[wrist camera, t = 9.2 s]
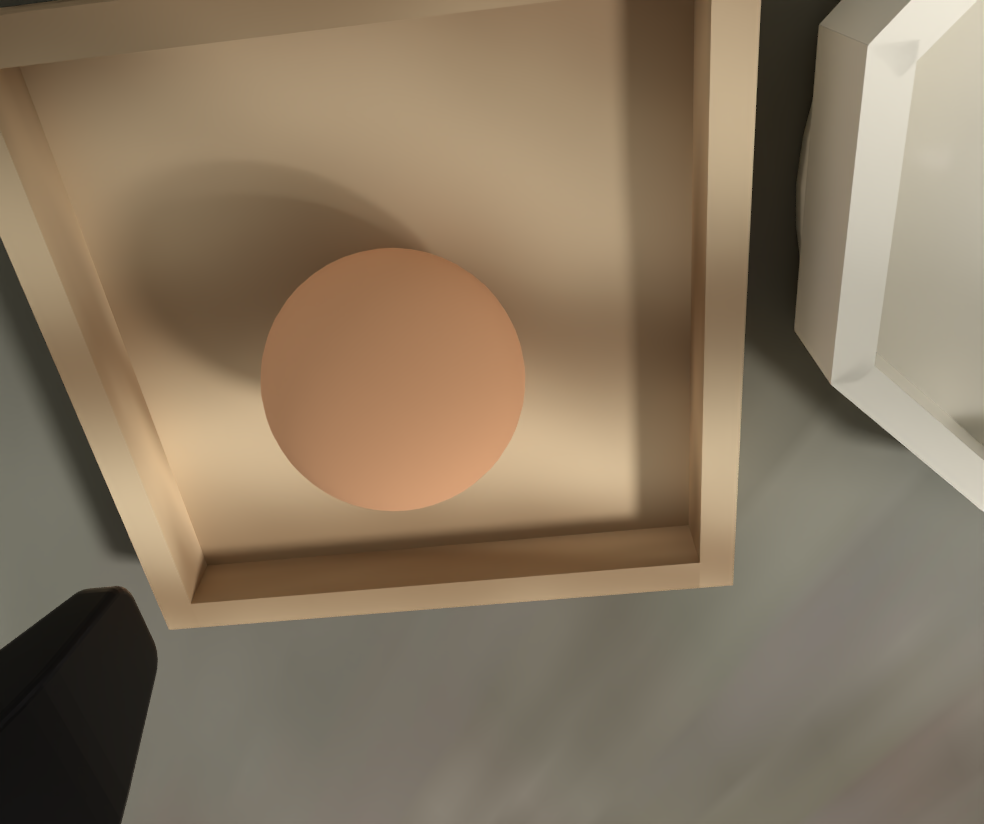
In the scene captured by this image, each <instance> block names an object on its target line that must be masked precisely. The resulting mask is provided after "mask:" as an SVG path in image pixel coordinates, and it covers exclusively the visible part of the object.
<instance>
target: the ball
mask: <svg viewBox="0 0 984 824" xmlns="http://www.w3.org/2000/svg"><path fill="white" fill-rule="evenodd" d="M524 393H525V365H524V359H523V354H522V349H521V345H520V342H519V339H518V336H517V333H516V330H515V328H514V326H513V324H512V322H511V320H510V318H509V316H508V314H507V313H506V311H505V309H504V308H503V307H502V305H501V304H500V302H499V301H498V299H497V298H496V297H495V296H494V294H493V293H492V292H491V291H490V290H489V289H488V288H487V287H486V286H485V285H484V284H483V283H482V282H481V281H479V280H478V279H477V278H476V277H475V276H474V275H472V274H471V273H469V272H468V271H466V270H464V269H463V268H461V267H460V266H458V265H457V264H455V263H453V262H451V261H448V260H446V259H444V258H442V257H439V256H436V255H433V254H430V253H427V252H423V251H418V250H413V249H404V248H380V249H373V250H368V251H362V252H358V253H355V254H352V255H348V256H345V257H342V258H340V259H338V260H336V261H334V262H332V263H330V264H328V265H326V266H325V267H323V268H322V269H320V270H319V271H317V272H315V273H314V274H313V275H311V276H310V277H309V278H308V279H307V280H306V281H304V282H303V283H302V284H301V285H300V286H299V287H298V288H297V289H296V290H295V291H294V292H293V293H292V295H291V296H290V297H289V298H288V299H287V301H286V302H285V304H284V305H283V307H282V308H281V310H280V312H279V313H278V315H277V316H276V318H275V320H274V322H273V324H272V327H271V329H270V331H269V334H268V337H267V340H266V344H265V348H264V352H263V356H262V364H261V396H262V401H263V406H264V410H265V414H266V418H267V421H268V424H269V427H270V429H271V432H272V434H273V436H274V438H275V440H276V441H277V443H278V445H279V447H280V448H281V450H282V452H283V453H284V455H285V456H286V457H287V459H288V460H289V461H290V463H291V464H292V465H293V466H294V467H295V468H296V469H297V470H298V471H299V472H300V474H302V475H303V476H304V477H305V478H306V479H308V480H309V481H310V482H311V483H312V484H314V485H315V486H316V487H318V488H319V489H321V490H322V491H324V492H325V493H327V494H329V495H331V496H333V497H335V498H337V499H339V500H341V501H344V502H346V503H349V504H351V505H355V506H359V507H362V508H366V509H373V510H379V511H408V510H414V509H420V508H424V507H428V506H432V505H435V504H437V503H440V502H442V501H445V500H448V499H450V498H452V497H454V496H456V495H458V494H460V493H462V492H463V491H465V490H466V489H468V488H469V487H470V486H472V485H473V484H475V483H476V482H477V481H478V480H479V479H480V478H481V477H482V476H484V475H485V474H486V473H487V472H488V471H489V470H490V469H491V468H492V467H493V465H494V464H495V463H496V462H497V461H498V460H499V458H500V457H501V455H502V453H503V452H504V450H505V449H506V447H507V445H508V444H509V442H510V441H511V439H512V436H513V434H514V432H515V430H516V427H517V424H518V421H519V418H520V414H521V411H522V407H523V402H524Z"/></svg>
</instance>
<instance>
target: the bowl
mask: <svg viewBox="0 0 984 824" xmlns="http://www.w3.org/2000/svg"><path fill="white" fill-rule="evenodd" d="M796 231H797V239H798V246H799V254H800V264H799V276H798V289H797V301H796V313H795V326H794V331H795V332H796V334H797V335H798V337H799V338H800V340H801V341H802V343H803V344H804V346H805V347H806V349H807V350H808V352H809V353H810V354H811V356H812V357H813V359H814V360H815V362H816V363H817V365H818V366H819V368H820V369H821V371H822V372H823V374H824V375H825V377H826V378H827V380H828V381H829V383H830V384H831V385H832V386H833V387H834V388H836V389H837V390H838V391H839V392H840V393H842V394H843V395H844V396H845V397H846V398H848V399H849V400H850V401H851V402H852V403H854V404H855V405H856V406H857V407H858V408H860V409H861V410H862V411H863V412H864V413H866V414H867V415H868V416H869V417H870V418H872V419H873V420H874V421H875V422H876V423H878V424H879V425H880V426H881V427H882V428H884V429H885V430H886V431H887V432H888V433H890V434H891V435H892V436H893V437H894V438H896V439H897V440H898V441H899V442H900V443H901V444H903V445H904V446H905V447H906V448H907V449H909V450H910V451H911V452H912V453H913V454H915V455H916V456H917V457H918V458H919V459H921V460H922V461H923V462H924V463H925V464H927V465H928V466H929V467H930V468H931V469H933V470H934V471H935V472H936V473H937V474H939V475H940V476H941V477H942V478H943V479H945V480H946V481H947V482H948V483H949V484H951V485H952V486H953V487H954V488H955V489H957V490H958V491H959V492H960V493H961V494H963V495H964V496H965V497H966V498H967V499H969V500H970V501H971V502H972V503H973V504H975V505H976V506H977V507H978V508H979V509H981V510H982V511H983V512H984V0H841V1H840V2H839V4H838V5H837V6H836V7H835V8H834V9H833V10H832V11H831V12H830V13H829V14H828V16H827V17H826V18H825V19H824V20H823V21H822V22H821V23H820V24H819V31H818V43H817V55H816V67H815V80H814V92H813V101H812V104H811V108H810V112H809V116H808V119H807V123H806V127H805V130H804V134H803V140H802V147H801V154H800V161H799V168H798V176H797V183H796Z"/></svg>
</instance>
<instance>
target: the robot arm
mask: <svg viewBox="0 0 984 824" xmlns="http://www.w3.org/2000/svg"><path fill="white" fill-rule="evenodd" d="M157 662H158V658H157V650H156V646H155V643H154V641H153V639H152V636H151V634H150V632H149V630H148V628H147V626H146V624H145V621H144V619H143V617H142V615H141V613H140V611H139V609H138V606H137V604H136V602H135V600H134V598H133V596H132V595H131V593H130V592H129V591H128V590H127V589H125V588H123V587H119V586H113V587H102V588H90V589H85V590H81V591H79V592H77V593H76V594H74V595H73V596H72V597H70V598H69V599H68V600H66V601H65V602H64V603H62V604H61V605H60V606H58V607H57V608H56V609H54V610H53V611H52V612H50V613H49V614H48V615H46V616H45V617H43V618H42V619H41V620H39V621H38V622H37V623H35V624H34V625H33V626H31V627H30V628H29V629H27V630H26V631H25V632H23V633H22V634H21V635H19V636H18V637H17V638H15V639H14V640H13V641H11V642H10V643H9V644H7V645H6V646H5V647H3V648H2V649H1V650H0V824H121V821H122V818H123V814H124V810H125V806H126V802H127V798H128V795H129V790H130V786H131V781H132V777H133V773H134V768H135V764H136V760H137V755H138V751H139V746H140V742H141V738H142V733H143V729H144V725H145V720H146V716H147V711H148V707H149V703H150V698H151V694H152V689H153V685H154V681H155V676H156V672H157Z"/></svg>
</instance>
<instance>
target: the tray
mask: <svg viewBox="0 0 984 824" xmlns="http://www.w3.org/2000/svg"><path fill="white" fill-rule="evenodd" d="M760 11H761V0H57V1H49V2H42V3H34V4H26V5H18V6H10V7H2V8H0V237H1V239H2V241H3V244H4V246H5V248H6V251H7V253H8V255H9V258H10V260H11V262H12V265H13V267H14V269H15V272H16V274H17V276H18V279H19V281H20V283H21V286H22V288H23V290H24V293H25V295H26V297H27V300H28V302H29V304H30V307H31V309H32V311H33V314H34V316H35V318H36V321H37V323H38V325H39V328H40V330H41V332H42V335H43V337H44V339H45V342H46V344H47V346H48V349H49V351H50V353H51V356H52V358H53V360H54V362H55V365H56V367H57V369H58V372H59V374H60V376H61V379H62V381H63V383H64V386H65V388H66V390H67V393H68V395H69V397H70V400H71V402H72V404H73V407H74V409H75V411H76V414H77V416H78V418H79V421H80V423H81V425H82V428H83V430H84V432H85V435H86V437H87V439H88V442H89V444H90V446H91V449H92V451H93V453H94V456H95V458H96V460H97V463H98V465H99V467H100V470H101V472H102V474H103V477H104V479H105V481H106V484H107V486H108V488H109V491H110V493H111V495H112V498H113V500H114V502H115V505H116V507H117V509H118V512H119V514H120V516H121V519H122V521H123V523H124V525H125V528H126V530H127V532H128V535H129V537H130V539H131V542H132V544H133V546H134V549H135V551H136V553H137V556H138V558H139V560H140V563H141V565H142V567H143V570H144V572H145V574H146V577H147V579H148V581H149V584H150V586H151V588H152V591H153V593H154V595H155V598H156V600H157V602H158V605H159V607H160V609H161V612H162V614H163V616H164V619H165V621H166V623H167V626H168V628H169V630H172V629H185V628H197V627H210V626H223V625H235V624H248V623H261V622H273V621H286V620H299V619H311V618H324V617H336V616H349V615H362V614H374V613H387V612H400V611H412V610H425V609H438V608H450V607H463V606H476V605H488V604H501V603H513V602H526V601H539V600H551V599H564V598H577V597H589V596H602V595H615V594H627V593H640V592H653V591H665V590H678V589H690V588H703V587H716V586H728V585H733V572H734V551H735V530H736V510H737V489H738V468H739V447H740V427H741V406H742V385H743V364H744V344H745V323H746V302H747V281H748V261H749V240H750V219H751V198H752V177H753V157H754V136H755V115H756V94H757V74H758V53H759V32H760ZM380 248H404V249H413V250H418V251H423V252H427V253H430V254H433V255H436V256H439V257H442V258H444V259H446V260H448V261H451V262H453V263H455V264H457V265H458V266H460V267H461V268H463V269H464V270H466V271H468V272H469V273H471V274H472V275H474V276H475V277H476V278H477V279H478V280H479V281H481V282H482V283H483V284H484V285H485V286H486V287H487V288H488V289H489V290H490V291H491V292H492V293H493V294H494V296H495V297H496V298H497V299H498V301H499V302H500V304H501V305H502V307H503V308H504V309H505V311H506V313H507V314H508V316H509V318H510V320H511V322H512V324H513V326H514V328H515V330H516V333H517V336H518V339H519V342H520V345H521V349H522V354H523V359H524V365H525V393H524V402H523V407H522V411H521V414H520V418H519V421H518V424H517V427H516V430H515V432H514V434H513V436H512V439H511V441H510V442H509V444H508V445H507V447H506V449H505V450H504V452H503V453H502V455H501V457H500V458H499V460H498V461H497V462H496V463H495V464H494V465H493V467H492V468H491V469H490V470H489V471H488V472H487V473H486V474H485V475H484V476H482V477H481V478H480V479H479V480H478V481H477V482H476V483H475V484H473V485H472V486H470V487H469V488H468V489H466V490H465V491H463V492H462V493H460V494H458V495H456V496H454V497H452V498H450V499H448V500H445V501H442V502H440V503H437V504H435V505H432V506H428V507H424V508H420V509H414V510H408V511H379V510H373V509H366V508H362V507H359V506H355V505H351V504H349V503H346V502H344V501H341V500H339V499H337V498H335V497H333V496H331V495H329V494H327V493H325V492H324V491H322V490H321V489H319V488H318V487H316V486H315V485H314V484H312V483H311V482H310V481H309V480H308V479H306V478H305V477H304V476H303V475H302V474H300V472H299V471H298V470H297V469H296V468H295V467H294V466H293V465H292V464H291V463H290V461H289V460H288V459H287V457H286V456H285V455H284V453H283V452H282V450H281V448H280V447H279V445H278V443H277V441H276V440H275V438H274V436H273V434H272V432H271V429H270V427H269V424H268V421H267V418H266V414H265V410H264V406H263V401H262V396H261V364H262V356H263V352H264V348H265V344H266V340H267V337H268V334H269V331H270V329H271V327H272V324H273V322H274V320H275V318H276V316H277V315H278V313H279V312H280V310H281V308H282V307H283V305H284V304H285V302H286V301H287V299H288V298H289V297H290V296H291V295H292V293H293V292H294V291H295V290H296V289H297V288H298V287H299V286H300V285H301V284H302V283H303V282H304V281H306V280H307V279H308V278H309V277H310V276H311V275H313V274H314V273H315V272H317V271H319V270H320V269H322V268H323V267H325V266H326V265H328V264H330V263H332V262H334V261H336V260H338V259H340V258H342V257H345V256H348V255H352V254H355V253H358V252H362V251H368V250H373V249H380Z"/></svg>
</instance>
